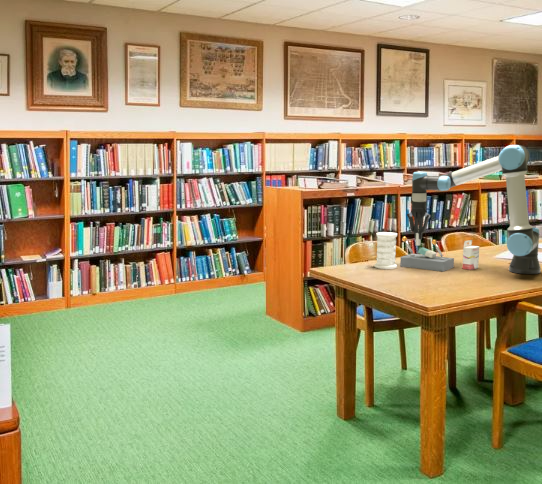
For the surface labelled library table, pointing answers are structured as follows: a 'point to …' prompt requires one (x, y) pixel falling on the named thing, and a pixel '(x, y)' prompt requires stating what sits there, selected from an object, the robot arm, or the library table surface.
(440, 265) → the console
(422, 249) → the rocker mid
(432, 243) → the lever near
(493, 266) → the library table surface
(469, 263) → the ink cartridge box
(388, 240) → the decorative container
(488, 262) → the library table surface
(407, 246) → the lever far
